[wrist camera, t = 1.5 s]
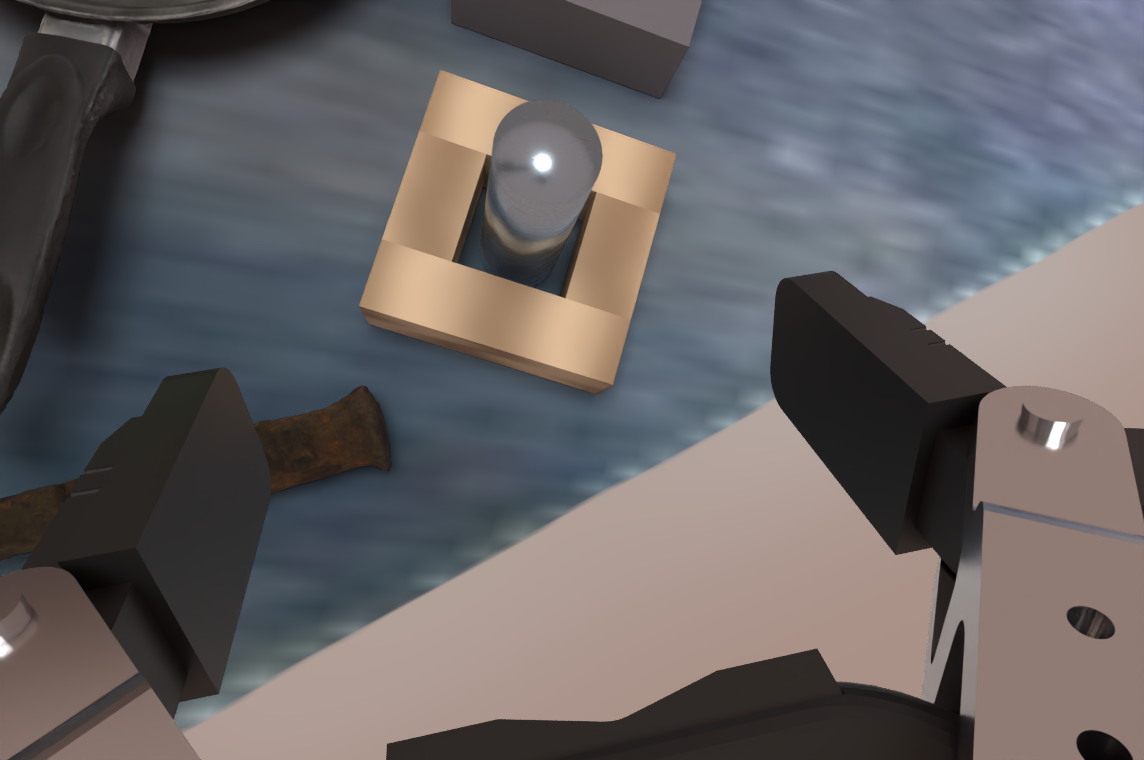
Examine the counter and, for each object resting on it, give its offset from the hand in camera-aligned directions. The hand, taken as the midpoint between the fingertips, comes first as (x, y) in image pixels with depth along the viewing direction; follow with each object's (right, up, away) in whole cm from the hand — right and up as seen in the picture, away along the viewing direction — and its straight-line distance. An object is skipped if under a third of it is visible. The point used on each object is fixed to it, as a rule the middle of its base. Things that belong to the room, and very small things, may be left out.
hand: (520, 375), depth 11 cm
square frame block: (-2, +7, +27) cm, 28 cm away
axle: (-2, +7, +27) cm, 28 cm away
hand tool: (-17, -6, +23) cm, 30 cm away
